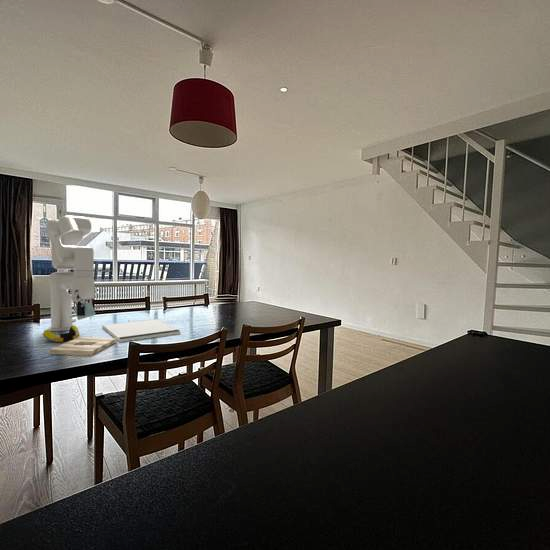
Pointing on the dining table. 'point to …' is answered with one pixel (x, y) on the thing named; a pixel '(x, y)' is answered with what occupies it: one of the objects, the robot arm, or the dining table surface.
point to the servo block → (86, 311)
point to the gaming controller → (62, 335)
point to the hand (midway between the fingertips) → (84, 314)
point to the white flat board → (139, 329)
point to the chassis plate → (78, 346)
